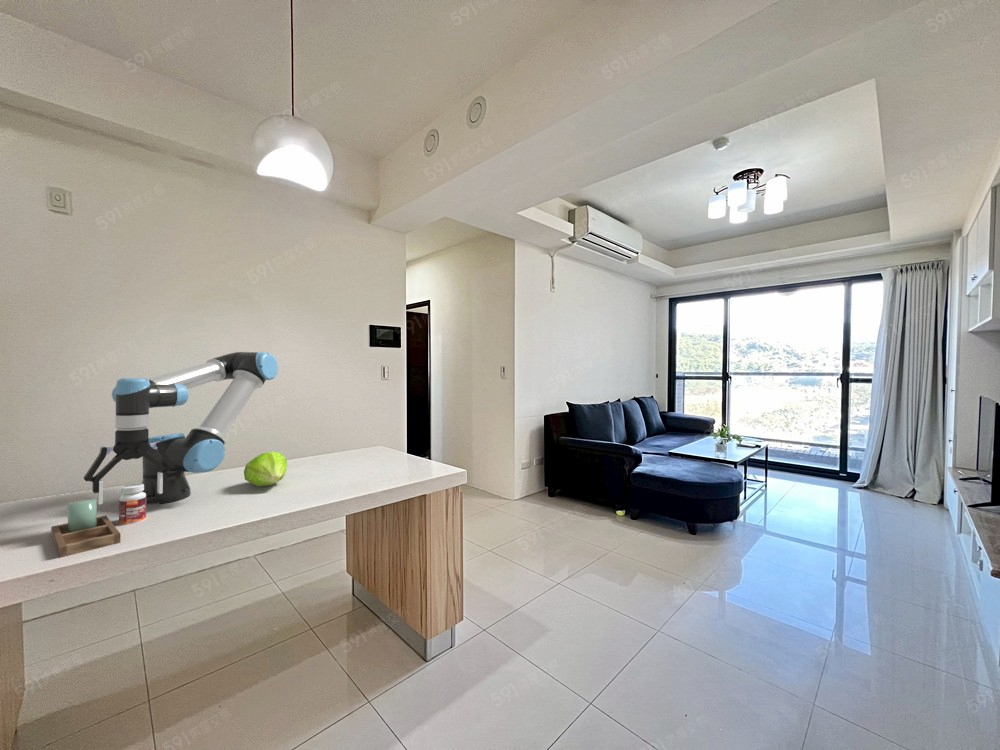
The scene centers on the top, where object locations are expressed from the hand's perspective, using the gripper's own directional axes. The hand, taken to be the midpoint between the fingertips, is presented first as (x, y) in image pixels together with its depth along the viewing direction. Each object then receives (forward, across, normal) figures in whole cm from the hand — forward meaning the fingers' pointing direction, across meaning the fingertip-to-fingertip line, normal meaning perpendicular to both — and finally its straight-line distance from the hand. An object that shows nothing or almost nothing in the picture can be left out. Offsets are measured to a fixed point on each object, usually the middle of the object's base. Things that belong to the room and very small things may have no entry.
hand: (131, 498), depth 122 cm
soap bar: (+7, +10, +2) cm, 13 cm away
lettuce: (+7, -42, -9) cm, 44 cm away
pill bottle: (+8, 0, 0) cm, 8 cm away
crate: (+8, +10, +7) cm, 15 cm away
